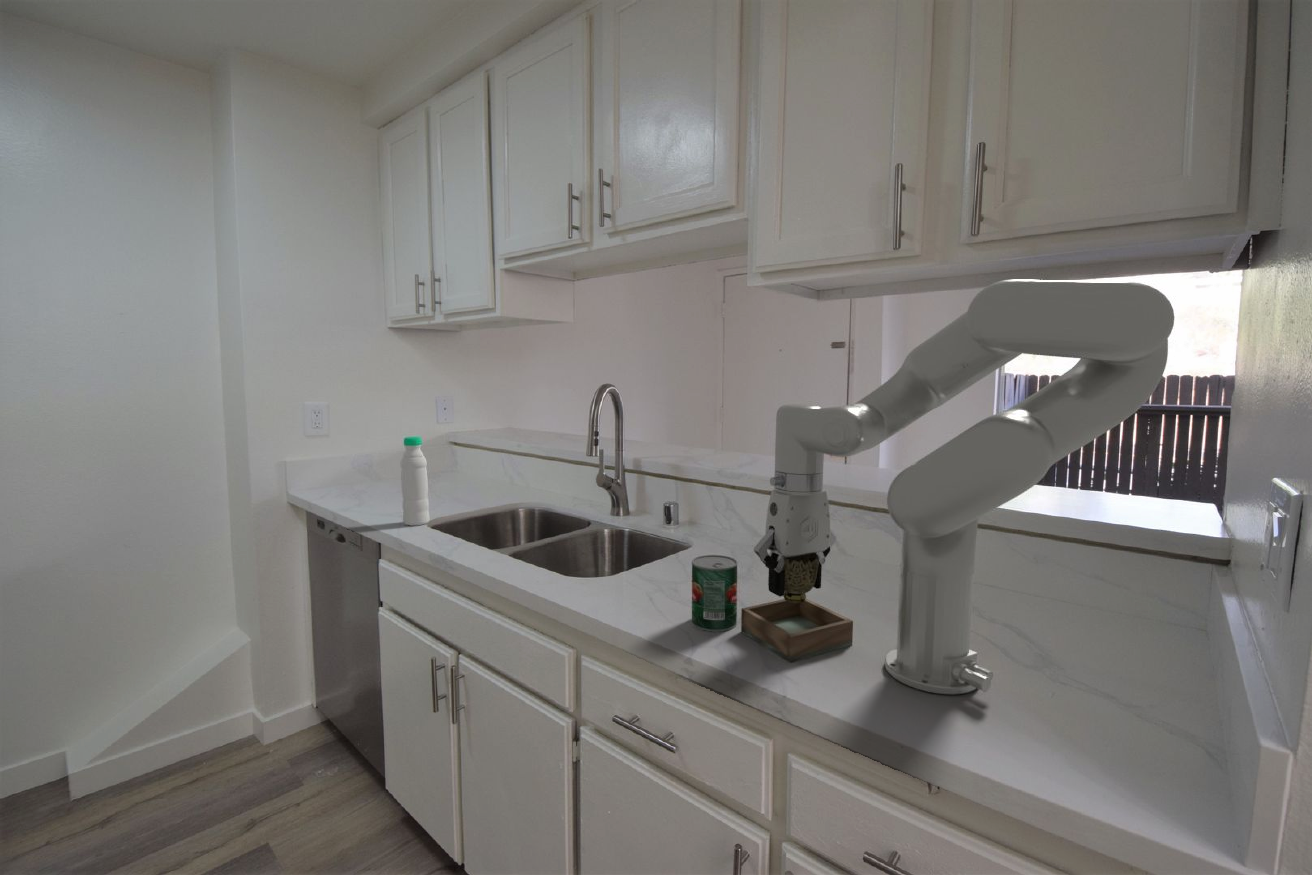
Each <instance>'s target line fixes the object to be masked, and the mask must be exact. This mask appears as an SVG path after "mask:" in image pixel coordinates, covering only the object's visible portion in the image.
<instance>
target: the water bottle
mask: <svg viewBox="0 0 1312 875" xmlns="http://www.w3.org/2000/svg"><path fill="white" fill-rule="evenodd" d="M422 442H423V440H422V437H420V436H407V437H405V438H404V439H403V445H404V448H405V451H404V453H403V456H402V458H401V460H400V467H401V470H400V471H401V473H400V474H401V476H400V480H401V481H400V482H401V494H402V510H403V514H402V515H403V516H402V518H403V519H402V520H403V522H402V523H403V525H404V526H408V525H409V526H411V527H415V526H422V525H426V524H428V523H429V522H430V520H431V519H430V518H431V517H430V510H429V505H430V503H429V502H430V501H429V483H428V481H429V479H428V471H427V470H428V469H427V468H428V467H427V464H428V460H427V458H426V456H424V453H423V451H422V450H421V447H422V444H423V443H422Z"/></svg>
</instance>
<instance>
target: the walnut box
mask: <svg viewBox="0 0 1312 875" xmlns="http://www.w3.org/2000/svg"><path fill="white" fill-rule="evenodd" d="M740 614H741V617H740V618H741V619H740V621H741V622H740V623H741V624H740V629H741V630H740V631H741V633H743V634H744V635H746V636H748V637H750V638H751V639H752V640H754V641H756V642H757V643H759V644H760V645H762V646H763V647H765V648H766V649H768V650H770V651H771V652H773V653H775V654H776V655H778V656H779V657H781V659H782V658H783V659H784V660H785V661H787V662H789V663H794V662H796V661H801V660H805V659H807V658H811V657H815V656H818V655H822V654H825V653H828V652H832V651H835V650H839V649H840V650H841V649H844V648H846V647H847V648H848V647H850V646H853V638H854V637H853V635H854V634H853V633H854V620H852V619H850V618H848V617H845V616H844V615H841V614H839V613H838V612H835V611H833V610H831V609H829V608H827V607H825V606H824V605H820V604H819V603H817V602H814V601H812V600H810V599H808V598H806V599H805V601H804V602H801V603H791V602H788V601H786V600H785V599H784V598H783V599H778V600H775V601H770V602H769V601H768V602H765V603H760V604H757V605H752V606H747V607H743V608H741V613H740Z"/></svg>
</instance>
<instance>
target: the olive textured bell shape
mask: <svg viewBox="0 0 1312 875" xmlns="http://www.w3.org/2000/svg"><path fill="white" fill-rule="evenodd" d="M778 557H779V555H777V557H775V561H777V559H778ZM819 559H820V556H819V558H818V557H817V556H815V553H812V554H806V555H801V556H795V557H787V558H786V560H785V563H784V566H783V568H782V570H781V571H783V572H784V573H785V584H784V595H783V596H782V597H783V599H785V600H786V601H788V602H791V603H801V602H804V601H805V599H807V593H809V592H810V591H811V590H812V589H813V588H814V587H813V586H814V584H815V581H816V577H817V571H818V565H819Z"/></svg>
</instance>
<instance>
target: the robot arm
mask: <svg viewBox="0 0 1312 875" xmlns="http://www.w3.org/2000/svg"><path fill="white" fill-rule="evenodd" d="M1174 324H1175V312H1174V309H1173V306H1172V303H1171V301H1170V300H1169V299H1168V297H1167V296H1166V295H1165V294H1164V293H1162V291H1160V290H1159V289H1157V288H1155V287H1153V286H1151V285H1148V284H1144V283H1141V282H1134V281H1133V282H1132V281H1117V280H1115V281H1110V280H1109V281H1107V280H1106V281H1105V280H1104V281H1103V280H1101V281H1100V280H1099V281H1098V280H1093V281H1092V280H1046V279H1045V280H1043V279H1041V280H1040V279H1017V278H1016V279H1014V278H1012V279H1004V280H1000V281H996V282H994V283H992V284H988V286H985V287H984V288H982V290H980V291H979V292H978V293H976V295H975V297H973V299H972V300H971V301H970V303H969V306H968V308H967V311H966V312H963V314H961V315H960V316H958V317H957V318H956V319H955V320H953V321H952V322H950V323H949V324H947V325H946V326H945V327H943V328H942V329H940V330H939V331H938V332H936V333H935V334H933V335H931V336H930V337H929V338H927V339H926V340H924V341H922V343H920V344H919V345H917V346H916V347H914V348H912V350H911V351H910V352H909V353H908V354H907V356H906V358H904V361H903V363H902V364H901V366H900V368H898V370H897V371H896V373H895V374H894V375H892V376H891V377H890V378H889V379H887V381H885V382H884V383H882V384H881V385H880V386H878V387H877V388H876V389H874V390H873V391H871V392H870V393H868V394H867V395H866V396H864V397H862V398H861V399H860V400H858V401H857V402H855V403H852V404H846V405H840V406H839V405H838V406H832V407H821V406H819V405H817V404H807V403H805V404H804V403H790V404H789V403H788V404H783V405H781V406H780V407H779V408H778V409H777V410H776V417H775V418H776V419H775V442H774V443H775V444H774V446H775V448H774V450H775V451H774V476H773V477H771V478H770V479H769V484H770V485H771V486H773V487H774V488H773V490H771V493H770V496H769V502H768V505H767V511H766V512H767V513H766V522H765V534H764V536H763V537H762V538H761V539H760V540H759V541H758V542H757V544H756V545H755V546H754V547H753V552H754V553H755V554H756V555H757V556H758V558H759V560H760V561H761V563H763V564H764V565H765V567H766V568H767V569H768V581H767V583H768V584H767V585H768V591H769V592H771V594H774V595H775V596H777V597H783V595H784V584H785V573H784V572H783V571H781V570H782V568H783V566H784V563H785V560H786V558H787V557H795V556H801V555H806V554H812V553H815V556H817V557H818V558H819V556H820V559H819V565H818V571H817V577H816V581H815V584H814V586H813V588H814V589H816V590H817V589H821V588H822V571H823V569H822V568H823V567H822V565H824V564H825V563H826V558H827V556H829V554H830V552H831V548H832V547H833V545H834V544H835V542H836V540H837V537H836V535H835V534H834V533H833V532H832V531H831V514H830V505H829V498H828V493H827V490H826V489H824V487H823V485H824V484H823V482H824V460H825V458H824V457H825V456H824V455H828V456H831V457H832V456H833V457H839V458H846V457H853V456H855V455H857V454H859V453H861V452H865V451H869V450H870V449H872V448H875V447H876V446H878V445H880V444H881V443H883V442H884V441H887V440H888V439H890V438H891V437H892V436H894V435H896V434H897V433H899V432H900V431H902V430H903V429H905V428H907V427H908V426H910V425H911V424H912V423H915V422H916V421H917V420H919V419H921V418H922V417H923V416H925V415H927V414H928V413H930V412H931V411H933V410H935V409H937V408H939V407H941V406H943V405H945V403H947V402H949V401H950V400H952V399H953V398H954V397H956V396H958V395H960V394H961V393H962V392H963V391H966V390H967V389H969V388H970V387H972V386H973V385H974V384H976V383H977V382H980V381H981V380H982V379H984V378H985V377H987V376H988V375H990V374H992V373H993V372H995V371H996V370H999V369H1000V368H1002V367H1003V366H1005V365H1007V364H1008V363H1009V362H1011V361H1013V360H1014V359H1016V358H1017V357H1019V356H1021V355H1022V354H1024V355H1034V356H1035V355H1036V356H1045V357H1059V358H1072V359H1079V360H1078V361H1077V362H1076V363H1075V365H1073V367H1072V368H1070V369H1069V370H1067V371H1066V372H1064V373H1063V374H1061V375H1060V376H1058V377H1057V378H1055V379H1053V380H1052V381H1050V382H1049V383H1047V384H1046V385H1045V386H1043V387H1042V388H1041V389H1039V390H1038V391H1036V392H1034V393H1032V394H1031V395H1029V396H1027V398H1025V399H1023V400H1022V401H1020V402H1018V403H1016V404H1015V405H1013V406H1011V407H1009V408H1007V409H1005V410H1004V411H1001V412H998V413H995V414H993V415H991V416H988V417H986V418H984V419H982V420H980V421H979V422H977V423H976V424H973V425H972V426H971V427H969V428H967V429H966V430H964V431H963V432H961V433H960V434H957V436H954V437H953V438H952V439H949V441H947V442H945V443H944V444H942V445H941V446H939V447H938V448H936V449H935V450H933V451H932V452H930V453H928V454H927V455H925V456H924V457H922V458H920V459H919V460H918V461H916V462H914V463H912V464H911V465H910V466H908V467H906V468H904V469H903V470H902V471H900V472H899V473H898V474H896V476H895V477H894V479H893V480H892V481H891V484H890V485H889V488H888V491H887V495H886V496H887V497H886V504H887V505H886V506H887V510H888V512H889V515H890V517H891V519H892V521H893V522H894V523H895V524H896V526H898V527H899V529H901V531H902V535H901V547H900V565H899V585H898V608H897V609H898V610H897V611H898V612H897V614H898V615H897V635H896V640H897V641H896V648H895V649H892V650H891V651H889V652H888V653H887V654H886V656H885V659H884V660H885V661H884V667H885V669H886V671H887V672H888V674H890V676H891V677H893V678H894V679H895V680H897V681H898V682H900V683H902V684H904V685H906V686H908V687H910V688H911V687H912V688H913V689H916V690H918V691H919V690H920V691H922V692H923V691H924V692H928V693H931V694H932V693H934V694H940V695H960V694H961V695H962V694H967V693H970V692H972V691H974V690H976V689H978V690H979V691H982V692H983V693H986V692H988V691H989V690H990V688H991V684H992V680H993V678H994V672H993V671H991V670H989V669H987V668H985V667H981V666H979V664H978V663H977V655H978V654H977V651H974V650H972V649H971V634H972V633H971V629H972V612H973V611H972V610H973V595H974V594H973V593H974V574H975V562H976V559H975V558H976V548H977V546H976V545H977V535H978V524H979V518H980V517H983V516H984V515H987V514H988V513H990V512H992V511H994V510H995V509H997V508H999V507H1001V506H1003V505H1005V504H1007V503H1008V502H1010V501H1011V500H1013V499H1015V498H1017V497H1018V496H1020V495H1022V494H1024V493H1025V492H1027V491H1028V490H1029V489H1031V488H1033V487H1034V486H1036V485H1037V484H1038V483H1039V482H1040V481H1041V480H1042V479H1043V478H1044V477H1045V475H1046V474H1047V472H1048V471H1049V469H1050V468H1051V467H1052V466H1053V465H1055V464H1056V463H1058V462H1059V461H1061V460H1062V459H1063V458H1065V457H1067V456H1069V455H1070V454H1072V453H1074V452H1076V451H1077V450H1079V449H1081V448H1083V447H1085V446H1086V445H1088V444H1089V443H1091V442H1092V441H1094V440H1096V439H1097V438H1099V437H1100V436H1102V435H1103V434H1106V433H1107V432H1108V431H1110V430H1112V429H1113V428H1115V427H1116V426H1118V425H1119V424H1121V423H1123V422H1124V421H1126V420H1127V419H1128V418H1130V417H1131V416H1132V415H1134V414H1135V413H1136V412H1138V410H1140V408H1142V407H1143V406H1144V405H1145V404H1146V402H1147V401H1148V400H1149V399H1150V398H1151V397H1152V395H1153V394H1154V392H1155V391H1156V389H1157V387H1158V385H1159V384H1160V382H1161V379H1162V377H1163V376H1164V373H1165V369H1166V367H1167V363H1168V354H1169V337H1170V335H1171V334H1172V330H1173V329H1174ZM768 550H769V553H768ZM777 555H779V557H778V559H777V561H775V557H777Z"/></svg>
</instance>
